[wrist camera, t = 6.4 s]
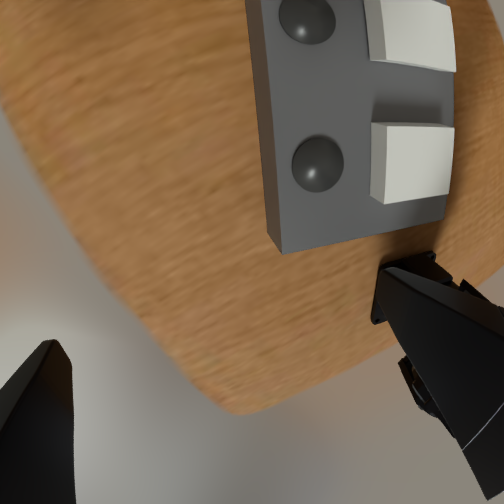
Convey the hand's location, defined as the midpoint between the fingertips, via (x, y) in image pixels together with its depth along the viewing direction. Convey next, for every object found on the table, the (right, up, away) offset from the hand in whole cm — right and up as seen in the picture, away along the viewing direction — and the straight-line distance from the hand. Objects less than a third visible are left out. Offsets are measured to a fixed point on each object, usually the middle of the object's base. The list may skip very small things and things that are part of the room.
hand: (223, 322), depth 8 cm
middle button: (+9, +14, +5) cm, 18 cm away
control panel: (+7, +15, +8) cm, 19 cm away
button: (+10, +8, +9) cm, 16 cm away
